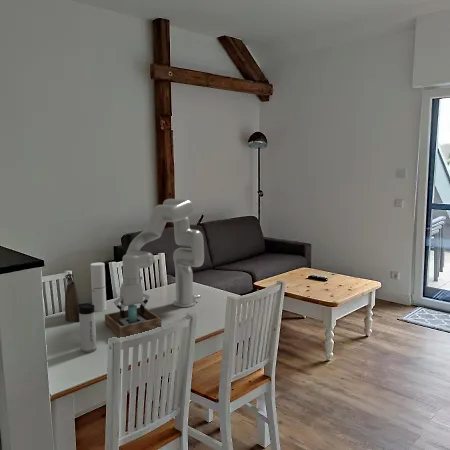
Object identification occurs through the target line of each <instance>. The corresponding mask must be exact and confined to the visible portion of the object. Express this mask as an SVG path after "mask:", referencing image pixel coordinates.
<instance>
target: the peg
mask: <svg viewBox="0 0 450 450" xmlns="http://www.w3.org/2000/svg"><path fill="white" fill-rule="evenodd" d="M137 308H138V307H137V304H134V305H129V306H127V310H128V319H129V323H134V322H137Z"/></svg>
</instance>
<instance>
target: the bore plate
mask: <svg viewBox="0 0 450 450" xmlns="http://www.w3.org/2000/svg"><path fill="white" fill-rule="evenodd" d="M143 321H146V320H145V319H143V318H142V317H141V316H139V315H137V322H134V323H138V322H143ZM134 323H129V319H128V317H127V318H124V319H118V324H120V325H121V326H125V325H129V324H134Z"/></svg>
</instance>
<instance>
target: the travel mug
mask: <svg viewBox="0 0 450 450" xmlns="http://www.w3.org/2000/svg"><path fill="white" fill-rule="evenodd" d="M78 307H79V320H80V322H79V338H80V351H81V352H82V353H85V354H89V353H90V354H91V353H94V352H95V351H97V333H96V332H97V330H96V325H97V324H96V312H95V307H94V305H93V304H92V303H90V302H89V303H88V302H86V303H85V302H84V303H79V305H78Z"/></svg>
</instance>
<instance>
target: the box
mask: <svg viewBox="0 0 450 450" xmlns="http://www.w3.org/2000/svg"><path fill="white" fill-rule="evenodd" d="M124 311H125V318H127V317H128V309H124ZM137 315H139V316H141V317H142V318H143V319H145V320H146V321H143V322H138V323H134V324H129V325H125V326H121V325H120V324H118V319H123V318H122V317H121V316H120V311H116V312H111V313H106V314H104V325H105V328H107V330H108V331H110V332H111V333H112V334H113V335H114V336H115V337H117V338H118V337H119V338H120V337H126V336H130V335H134V334H138V333H142V332H145V331H149V330H152V329H155V328H157V327H161V328H162V317H160V316H159V315H157V314H156V313H154V312H152V311H151V310H149V309H148V308H146V307H145V312H144V314H141V313H140V307H137ZM119 338H118V339H119Z"/></svg>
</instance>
